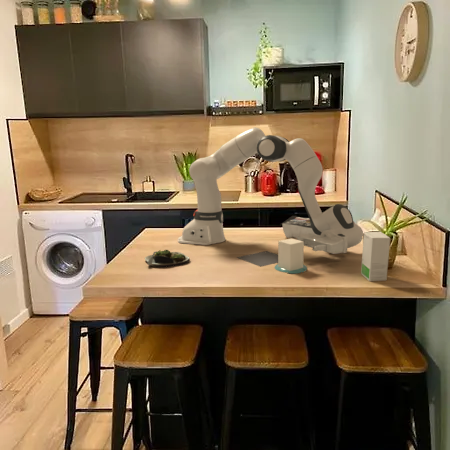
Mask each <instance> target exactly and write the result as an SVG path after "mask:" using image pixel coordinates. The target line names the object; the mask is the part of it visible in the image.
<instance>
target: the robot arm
mask: <svg viewBox="0 0 450 450" xmlns="http://www.w3.org/2000/svg"><path fill="white" fill-rule="evenodd" d="M256 154H258V156H259V158H260V159H262V160H264V161H268V162H271V163H274V162H275V163H277V162H284V161H287V162H288V163H289V165H290V167H291V169H292V170H293V171H294V173H295V176H296V179H297V189H298V190H297V191H298V193H299V196H300V199H301V202H302V204H303V206H304V209H305V211H306V214H307V216H308V218H309V219H310V223H311V227H312V230H313V232H314V233H315V234H301V235H298V236H297V238H296V240H299V241H303V242H304V247H308V248H312V251H314V252H325V253H329V254H333V255H337V254H346V253H347V252H348V249H349V248H353V247H355V246H357V245H359V244H360V243H361V242H363V238H362V236H363V237H364V231H363V228H362V227H361V226H359V225H358V224H357V223H356V222H355V221H354V217H353V215H352V213H351V210H350V209H349V208H348V207H347V206H346V205H343V204H340V203H337V204H335V205H333V206H331V207H329V208H328V209H326V210H325V211H323V212H322V210H321V208H320V207H321V206H320V205H319V202H318V200H317V198H316V194H315V193H316V188H317V186H318V184H319V182H320V180H321V178H322V175H323V170H324V169H323V165H322V162H321V161H320V159H319V157H318V156H317V154H316V153H315V151H314V149H313V148H312V147H311V146H310V144H309V143H308V142H307V141H306V140H305V139H304V138H302V137H301V138H299V137H297V138H294V139H292V140H290V141H289V140H288V138H285V137H284V136H280V135H272V134H271V135H270V134H268V135H266V134H265V133H264V131H263V130H262V129H260V128H259V127H251V128H249V129H246V130H244V131H243V132H241V133H239V134H238V135H236V136H235V137H233V138H231V139H230V140H228V141H226V142H225V143H224V144H222V145H221V146H220V147H219V149H217V150H216V151H215V152H213V153H212V154H210V155H209V156H205V157H200V158H197V159H196V160H195V161H193V162H192V163H191V164H190V167H189V169H188V170H189V172H188V173H189V176H190V178H191V179H192V180H193V183H194V188H195V191H196V196H197V197H196V198H197V209H196V210H194V212H193V219H192V220H191V221H189V222H188V223H186V225H185V226H184V227H183V230H182V235H181V236H178V238H177V242H178V243H179V244H190V245H201V246H202V245H203V246H209V245H213V244H220V243H223V242H225V241H226V235H225V232H224V226H223V222H224V214H223V210H222V193H221V191H220V189H219V186H218V181H217V180H219V179H220V178H221V177H223V176H225V175H226V174H227V173H229V172H230V171H232V170H233V169H234V168H236V167H237V166H239V165H241V164H243V162H245V161H246V160H248V159H250V158H251V157H253V156H254V155H256Z"/></svg>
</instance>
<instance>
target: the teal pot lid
mask: <svg viewBox="0 0 450 450" xmlns="http://www.w3.org/2000/svg"><path fill="white" fill-rule="evenodd" d="M274 269H275V270H276V271H278V272H281V273H286V274H289V275H293V274H302V273H305V272H306V271H307V269H308V267H307V265H305V264H303V268H300V269H296V270H292V271H289V270H286V269H283V268H280V267H278V263H276V264H274ZM304 271H305V272H304ZM301 272H302V273H301Z"/></svg>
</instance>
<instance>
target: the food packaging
mask: <svg viewBox="0 0 450 450" xmlns="http://www.w3.org/2000/svg"><path fill="white" fill-rule="evenodd" d="M280 225H282V231H283V233H284V236H285V238H288V239H291V238H293V239H297V236H298V235H301V234H315V233H314V232H313V230H312V227H311V223H310V219H309V217H302V216H301V217H300V216H297V215H291V216H290V217H288V219H286V220H285V221H283V222H282V223H280Z"/></svg>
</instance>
